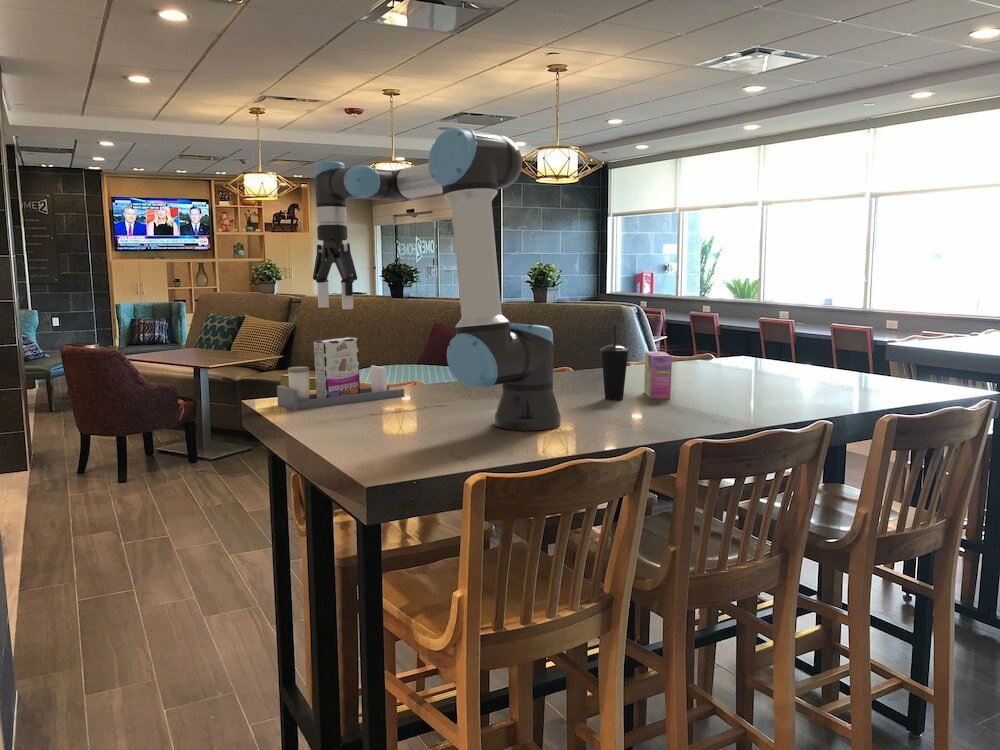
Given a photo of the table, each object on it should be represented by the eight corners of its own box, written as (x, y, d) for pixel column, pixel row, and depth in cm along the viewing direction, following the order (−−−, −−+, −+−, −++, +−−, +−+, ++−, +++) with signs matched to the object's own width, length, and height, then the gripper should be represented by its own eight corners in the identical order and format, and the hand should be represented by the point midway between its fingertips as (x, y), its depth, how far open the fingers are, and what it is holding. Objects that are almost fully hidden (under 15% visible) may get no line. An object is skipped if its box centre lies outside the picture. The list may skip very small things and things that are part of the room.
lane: (405, 400, 215) (405, 378, 214) (294, 414, 195) (293, 390, 195) (386, 395, 223) (386, 374, 222) (278, 409, 203) (277, 385, 202)
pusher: (394, 396, 215) (394, 367, 214) (383, 397, 213) (382, 368, 211) (382, 393, 220) (381, 364, 219) (371, 394, 218) (370, 365, 217)
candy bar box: (348, 397, 214) (346, 336, 212) (361, 399, 211) (359, 338, 208) (315, 403, 205) (312, 340, 203) (327, 405, 202) (324, 341, 200)
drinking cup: (627, 396, 218) (628, 324, 215) (629, 401, 211) (630, 326, 208) (599, 396, 219) (600, 324, 216) (600, 401, 212) (601, 326, 209)
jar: (313, 406, 201) (312, 368, 200) (294, 408, 198) (292, 369, 196) (305, 403, 205) (303, 366, 204) (286, 405, 202) (284, 367, 201)
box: (671, 399, 215) (672, 355, 213) (650, 399, 215) (650, 355, 213) (664, 392, 225) (665, 351, 223) (643, 392, 225) (644, 351, 223)
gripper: (369, 222, 194) (372, 309, 197) (323, 227, 214) (327, 306, 216) (341, 221, 190) (344, 310, 192) (297, 226, 209) (301, 307, 212)
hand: (335, 308), depth 204 cm, fingers open, 13 cm apart
